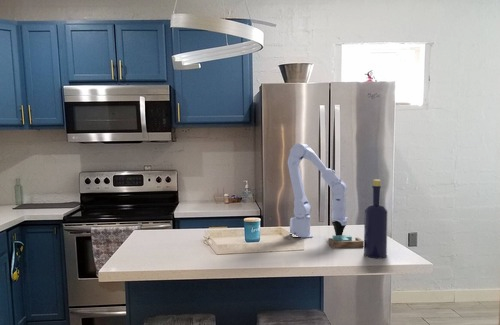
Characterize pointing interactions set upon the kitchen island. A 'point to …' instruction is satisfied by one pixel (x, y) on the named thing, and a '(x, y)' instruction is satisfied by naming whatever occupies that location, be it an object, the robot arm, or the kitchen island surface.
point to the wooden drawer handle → (346, 243)
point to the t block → (342, 238)
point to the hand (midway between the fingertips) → (338, 237)
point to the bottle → (375, 226)
